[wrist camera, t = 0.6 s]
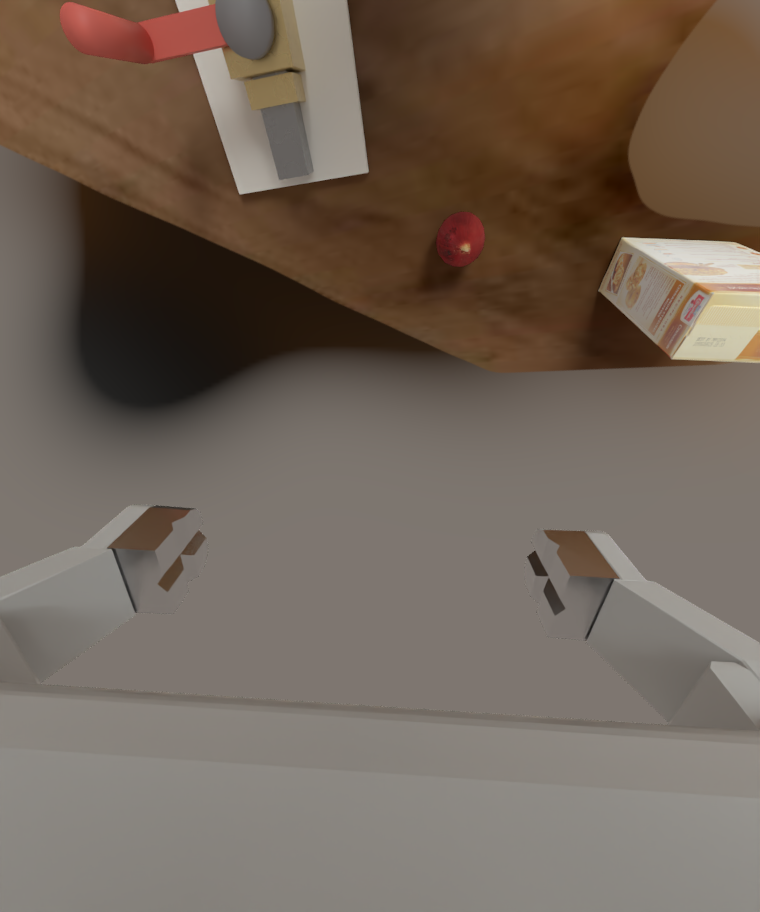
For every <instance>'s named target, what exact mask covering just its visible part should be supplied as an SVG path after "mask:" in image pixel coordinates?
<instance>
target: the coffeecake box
mask: <svg viewBox="0 0 760 912" xmlns="http://www.w3.org/2000/svg"><path fill="white" fill-rule="evenodd" d="M598 291H599V292H601V293H602V294H603V295H604V296H605V297H606V298H607V299H608V300H609V301H610V302H611V303H612V304H614V305H615V306H616V307H617V308H618V309H619V310H620V311H621V312H622V313H623V314H624V315H625V316H626V317H628V318H629V319H630V320H631V321H632V322H633V323H634V324H635V325H636V326H637V327H638V328H639V329H640V330H641V331H642V332H644V333H645V334H646V335H647V336H648V337H649V338H650V339H651V340H652V341H653V342H654V343H655V344H656V345H658V346H659V347H660V348H661V349H662V350H663V351H664V352H665V353H666V354H667V355H668V356H669V357H670V358H671V359H678V360H701V361H725V362H751V363H760V253H759V252H757V251H754V250H752V249H750V248H747V247H745V246H742V245H740V244H738V243H735V242H720V241H698V240H675V239H649V238H621V240H620V242H619V245H618V247H617V249H616V252H615V254H614V256H613V259H612V261H611V263H610V266H609V268H608V270H607V272H606V274H605V276H604V278H603V281H602V283H601V285H600V288H599V290H598Z"/></svg>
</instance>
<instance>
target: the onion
mask: <svg viewBox="0 0 760 912" xmlns="http://www.w3.org/2000/svg"><path fill="white" fill-rule="evenodd" d="M484 241H485V233H484V227H483V225H482V223H481V221H480V219H479V218H478V217H476V216H475V215H474V214H472V213H471V212H458V213H455V214H452V215H451V216H449V217H448V218H447V219H446V220H444V222H443V224H442V225H441V227H440V228H439V231H438V235H437V239H436V246H437V251H438V254H439V255H440V257H441V258H442V259H443V261H444V262H445V263H447V264H449V265H451V266H455V267H463V266H465V265H468V264H470V263H471V262H473V261H474V260H475V259H477V258H478V256H479V255H480V253H481V251H482V250H483V246H484Z"/></svg>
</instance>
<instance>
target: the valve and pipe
mask: <svg viewBox="0 0 760 912" xmlns="http://www.w3.org/2000/svg"><path fill="white" fill-rule="evenodd" d="M267 1H268V3H269V5H270V8H271V11H272V15H273V20H274V38H273V43H272V46H271V48H270V50H269V52H268V53H267V54H266V55H265V56H264V57H262V58H261V59H258V60H251V59H247V58H244V57H241V56H239V55H238V54H236V53H235V52H234V51H233V50H232V49H231V48H230V47H229V46H227V47H222V51H223V54H224V58H225V61H226V64H227V68H228V71H229V75H230V78H231V79H232V80H238V81H244V84H245V88H246V91H247V95H248V99H249V102H250V106H251V110H261V113H262V117H263V121H264V125H265V129H266V132H267V136H268V140H269V144H270V148H271V151H272V155H273V159H274V163H275V167H276V170H277V174H278V178H279V180H283V179H289V178H294V177H300V176H306V175H309V174H311V173H312V172H313V171H314V170H313V165H312V160H311V155H310V150H309V146H308V141H307V136H306V131H305V126H304V122H303V117H302V112H301V107H300V103H302V102H306V98H305V93H304V88H303V83H302V78H301V75H300V74H297V73H298V72H302V71H306V69H305V64H304V58H303V53H302V48H301V43H300V37H299V32H298V27H297V22H296V17H295V11H294V6H293V1H292V0H267ZM215 2H216V0H208V3H209V5H212V4H215Z"/></svg>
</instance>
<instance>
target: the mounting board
mask: <svg viewBox="0 0 760 912" xmlns="http://www.w3.org/2000/svg"><path fill="white" fill-rule="evenodd" d="M175 1H176V4H177V7H178V10H179V12H183V11H187V10H192V9H196V8H200V7H204V6H208V5H209V3H208V0H175ZM292 1H293V6H294V11H295V17H296V22H297V27H298V32H299V37H300V43H301V48H302V53H303V58H304V64H305V69H306V71H302V72H298V73H297V74H300V75H301V78H302V83H303V88H304V93H305V98H306V102H302V103H300V107H301V112H302V117H303V122H304V126H305V131H306V136H307V141H308V146H309V150H310V155H311V160H312V165H313V170H314V171H313V172H312V173H311V174H309V175H306V176H300V177H294V178H289V179H283V180H279V178H278V174H277V170H276V167H275V163H274V159H273V155H272V151H271V148H270V144H269V140H268V136H267V132H266V129H265V125H264V121H263V117H262V113H261V110H251V106H250V102H249V99H248V95H247V91H246V88H245V84H244V81H238V80H232V79H231V78H230V75H229V71H228V68H227V64H226V61H225V58H224V54H223V51H222V48H218V49H213V50H209V51H204V52H200V53H195V54H193V55H194V58H195V61H196V64H197V67H198V70H199V74H200V77H201V80H202V83H203V86H204V89H205V92H206V95H207V98H208V101H209V104H210V107H211V110H212V113H213V116H214V119H215V122H216V125H217V128H218V131H219V134H220V137H221V140H222V143H223V146H224V149H225V152H226V155H227V158H228V161H229V164H230V167H231V170H232V173H233V176H234V179H235V182H236V185H237V188H238V191H239V194H246V193H252V192H258V191H264V190H270V189H275V188H281V187H287V186H293V185H299V184H305V183H311V182H316V181H322V180H328V179H334V178H340V177H346V176H352V175H358V174H363V173H368V172H369V168H368V160H367V152H366V144H365V136H364V128H363V121H362V113H361V105H360V97H359V89H358V81H357V73H356V65H355V57H354V49H353V41H352V34H351V26H350V18H349V10H348V2H347V0H292Z"/></svg>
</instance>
